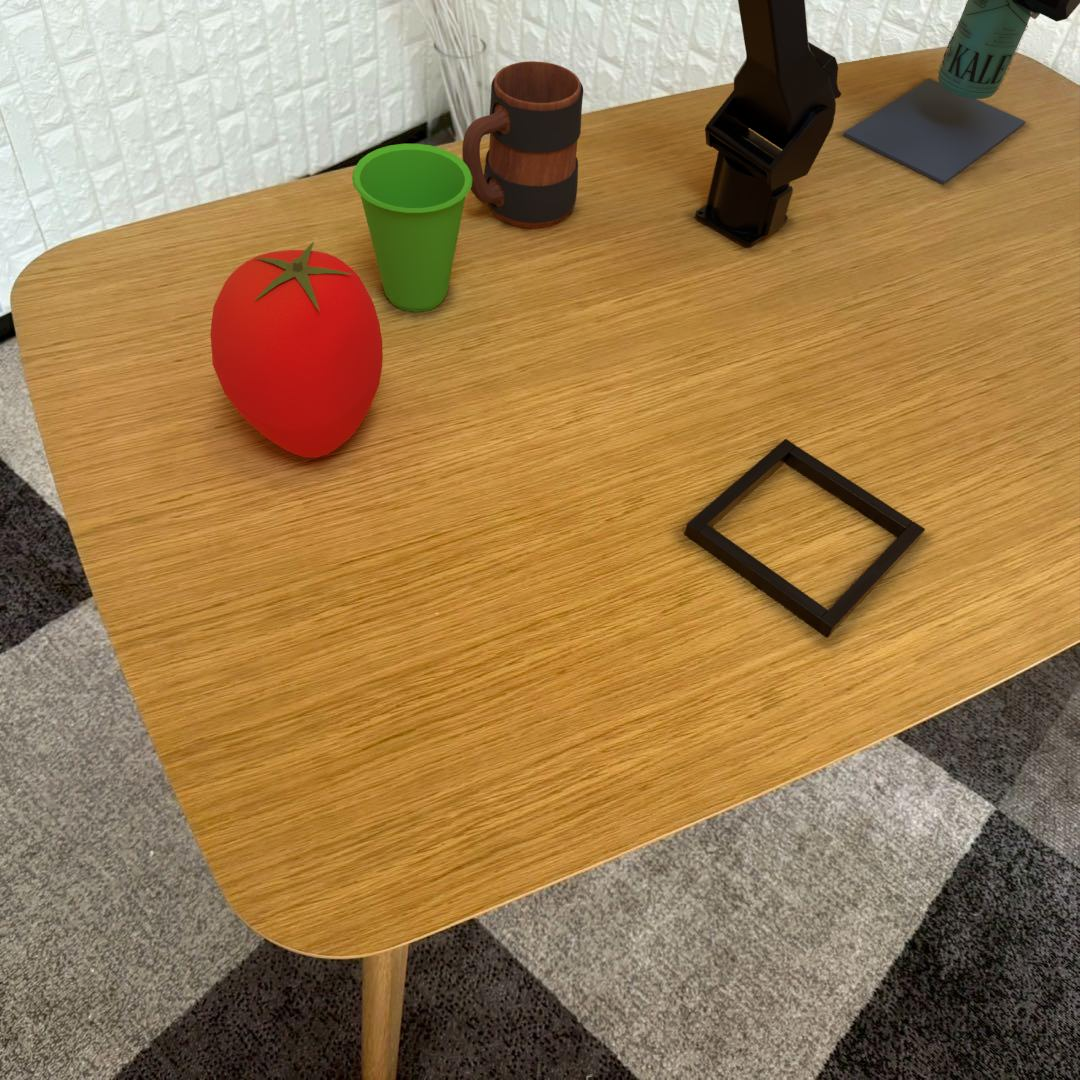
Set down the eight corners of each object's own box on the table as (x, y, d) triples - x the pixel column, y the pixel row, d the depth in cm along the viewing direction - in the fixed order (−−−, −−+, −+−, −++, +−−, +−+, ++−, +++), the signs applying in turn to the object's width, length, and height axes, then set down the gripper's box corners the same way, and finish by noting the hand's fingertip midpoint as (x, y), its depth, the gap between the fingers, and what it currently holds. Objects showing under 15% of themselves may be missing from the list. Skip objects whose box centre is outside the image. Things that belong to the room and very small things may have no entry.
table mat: (842, 135, 107) (844, 132, 106) (928, 81, 116) (929, 78, 115) (943, 184, 102) (945, 181, 102) (1024, 124, 111) (1025, 121, 111)
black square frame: (683, 534, 71) (687, 523, 70) (781, 449, 77) (785, 438, 76) (827, 638, 66) (832, 627, 65) (919, 539, 72) (925, 528, 71)
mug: (434, 208, 93) (433, 84, 84) (535, 168, 99) (543, 48, 89) (492, 255, 89) (497, 131, 80) (594, 211, 95) (609, 90, 86)
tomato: (395, 477, 72) (385, 320, 61) (230, 492, 70) (190, 332, 59) (379, 359, 80) (368, 200, 69) (230, 370, 78) (194, 208, 67)
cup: (386, 339, 82) (379, 220, 73) (345, 274, 86) (334, 155, 78) (487, 312, 85) (492, 194, 76) (443, 250, 89) (442, 133, 81)
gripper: (1160, -161, 79) (1158, -36, 93) (969, -232, 88) (992, -108, 101) (1055, -35, 82) (1067, 69, 95) (879, -115, 91) (913, -10, 104)
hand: (1009, 0), depth 99 cm, fingers closed on beverage bottle, 6 cm apart
